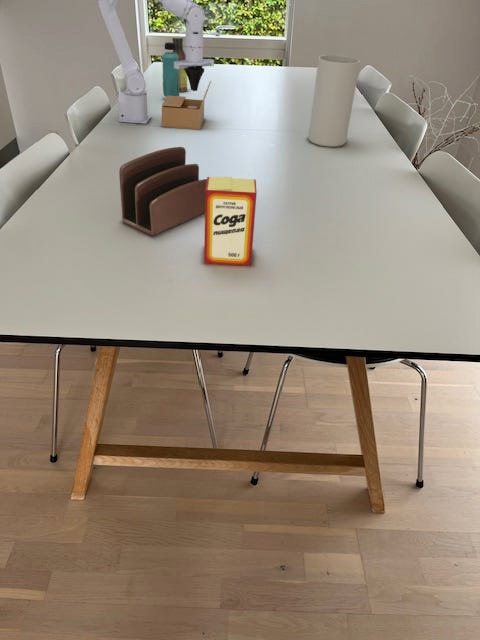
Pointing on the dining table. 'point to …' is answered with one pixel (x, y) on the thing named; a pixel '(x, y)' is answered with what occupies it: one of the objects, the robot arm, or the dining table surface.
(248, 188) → the baking soda box
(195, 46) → the robot arm
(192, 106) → the spice jar
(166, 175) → the letter holder
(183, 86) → the sauce bottle
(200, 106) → the flap
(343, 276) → the dining table surface
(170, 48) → the beverage bottle
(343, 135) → the cylinder vase
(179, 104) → the carton
